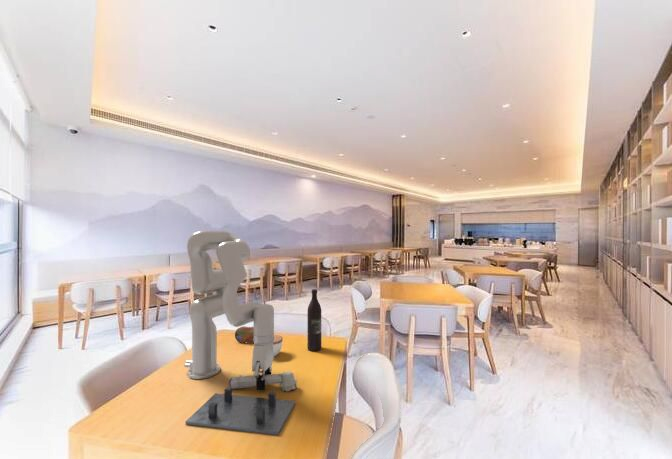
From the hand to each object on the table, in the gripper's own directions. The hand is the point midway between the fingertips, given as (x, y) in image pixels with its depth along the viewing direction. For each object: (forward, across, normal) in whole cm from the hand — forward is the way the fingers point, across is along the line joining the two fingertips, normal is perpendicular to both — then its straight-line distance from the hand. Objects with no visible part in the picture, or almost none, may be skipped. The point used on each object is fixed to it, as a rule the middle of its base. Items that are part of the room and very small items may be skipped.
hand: (264, 385), depth 112 cm
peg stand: (+1, +16, 0) cm, 16 cm away
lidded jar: (+1, -30, -9) cm, 31 cm away
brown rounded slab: (+1, -43, -27) cm, 51 cm away
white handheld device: (+1, 0, 0) cm, 1 cm away
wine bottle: (+1, -40, +10) cm, 41 cm away
